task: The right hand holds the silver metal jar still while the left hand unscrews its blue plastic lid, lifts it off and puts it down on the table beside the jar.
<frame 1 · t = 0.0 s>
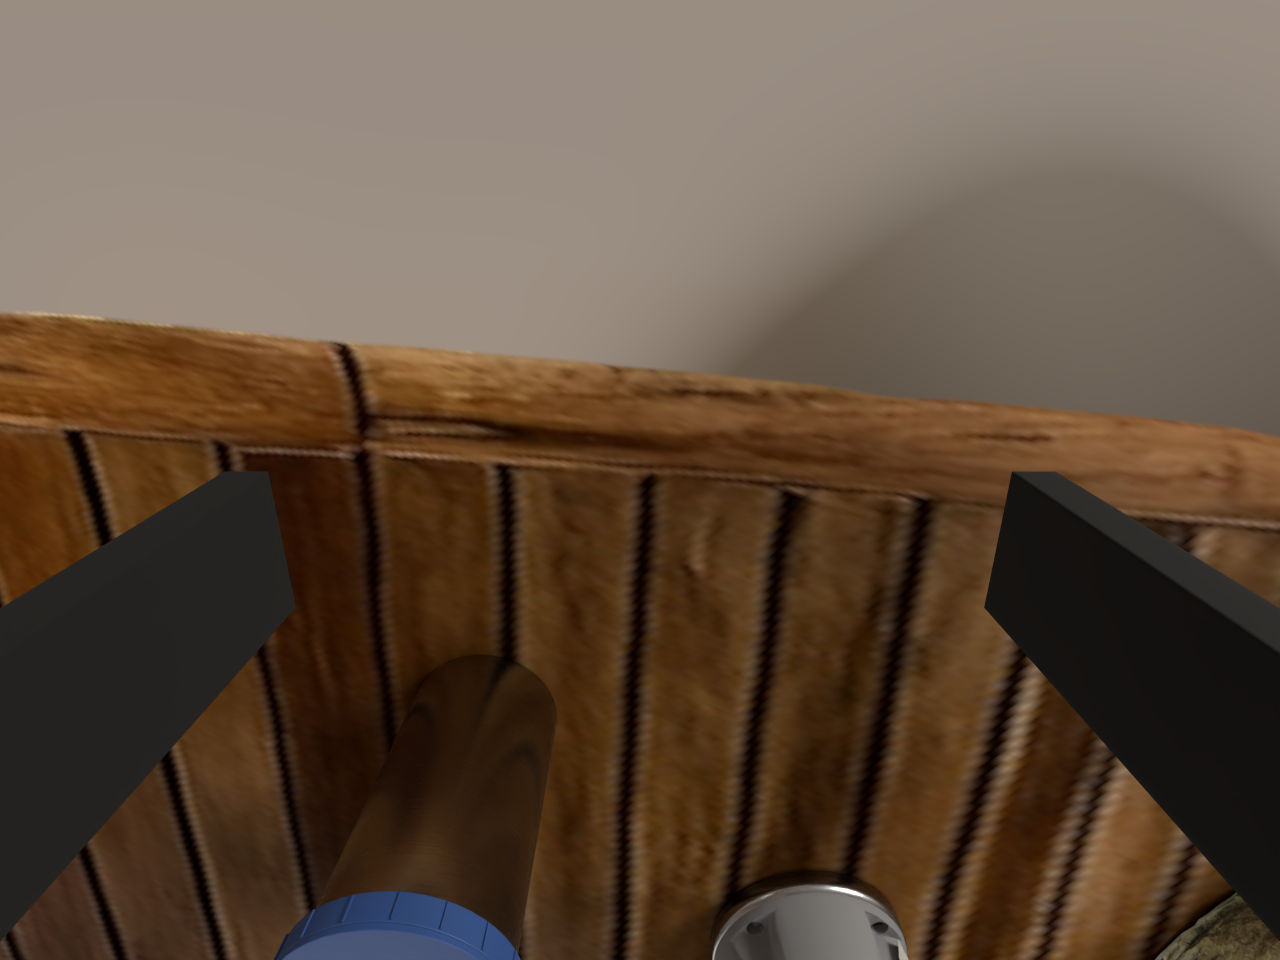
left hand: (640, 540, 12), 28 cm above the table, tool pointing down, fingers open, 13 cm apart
jar: (485, 714, 48), on the table
fossil: (1211, 944, 56), on the table
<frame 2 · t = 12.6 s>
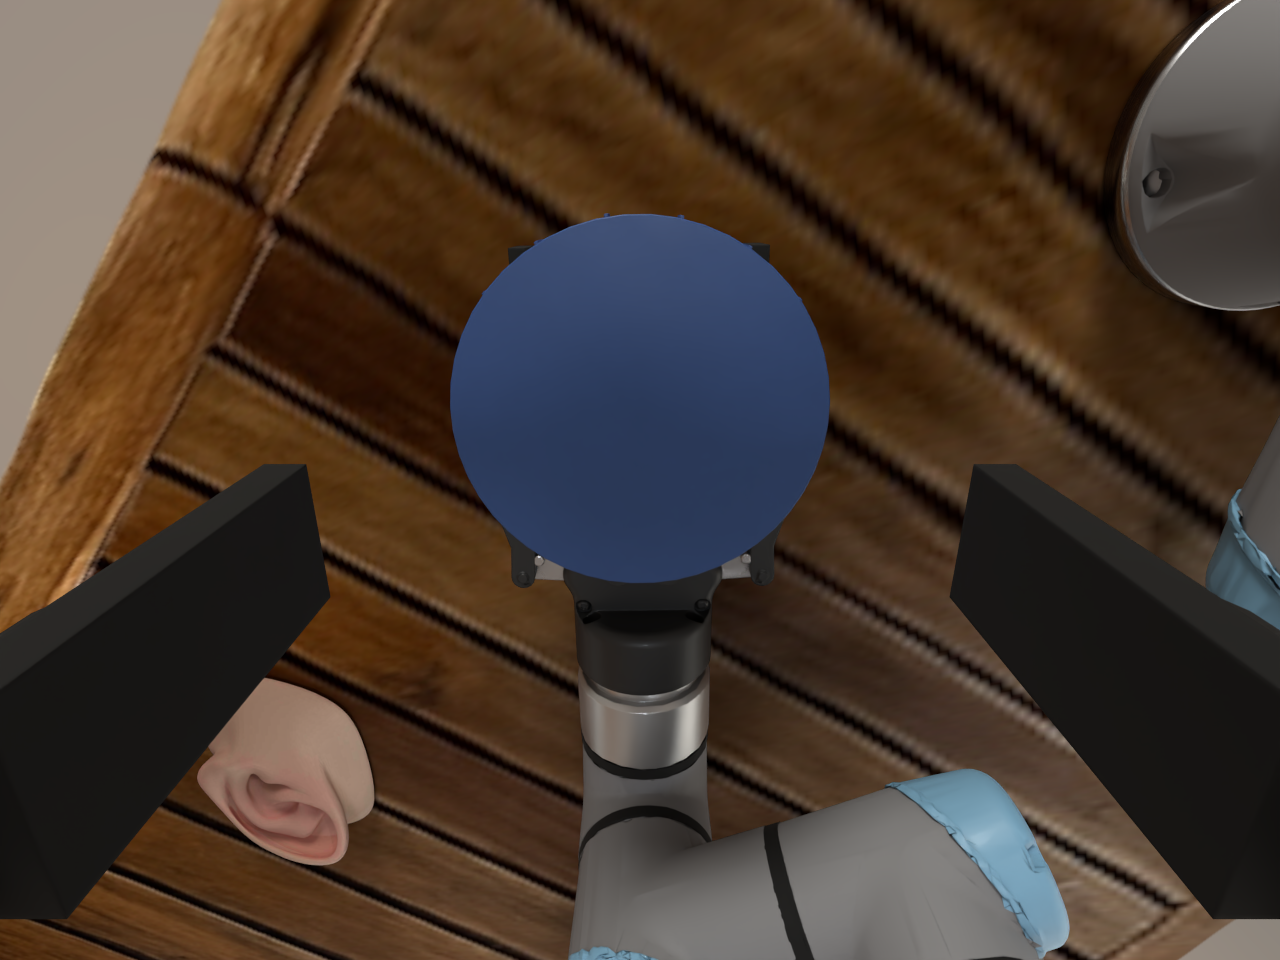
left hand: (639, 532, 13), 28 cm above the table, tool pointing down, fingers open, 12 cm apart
anatomical model: (293, 752, 49), on the table
lid: (640, 413, 21), point 19 cm above the table, screwed on, not yet turned
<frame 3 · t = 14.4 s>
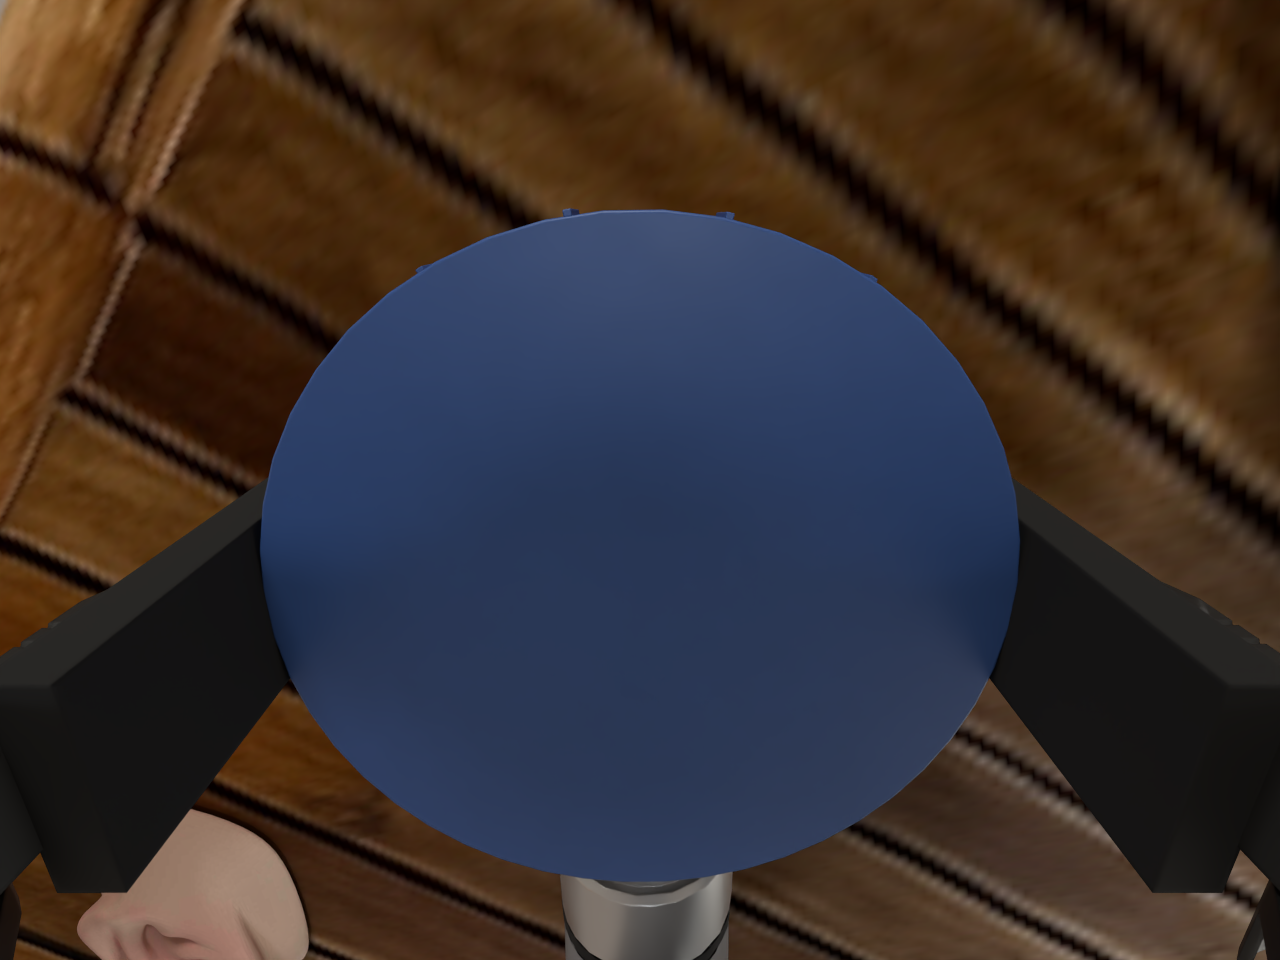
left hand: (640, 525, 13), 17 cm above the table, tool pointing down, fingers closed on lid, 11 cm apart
anatomical model: (205, 887, 39), on the table
lid: (639, 599, 11), point 19 cm above the table, screwed on, not yet turned, touching left hand
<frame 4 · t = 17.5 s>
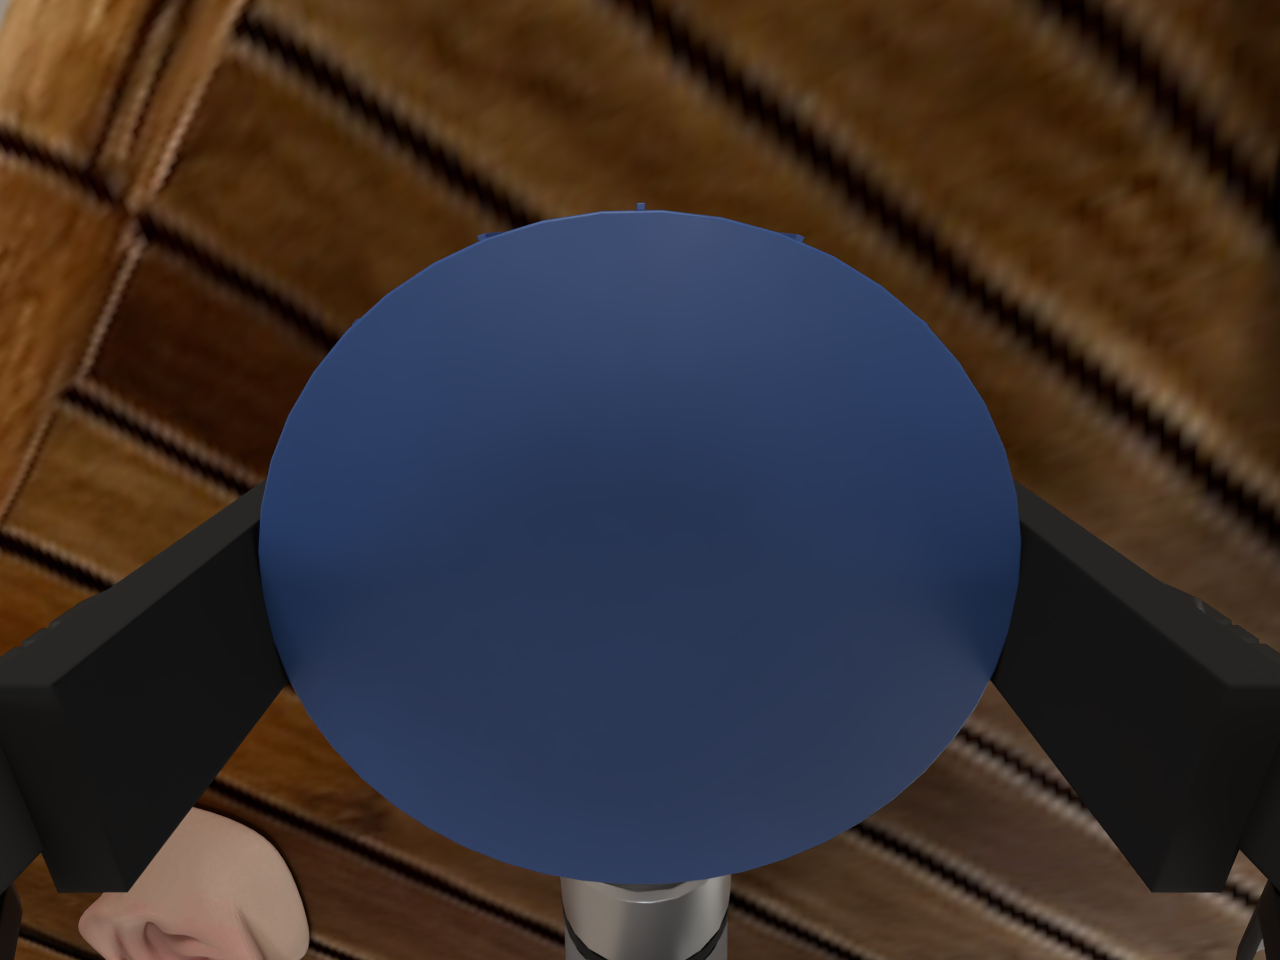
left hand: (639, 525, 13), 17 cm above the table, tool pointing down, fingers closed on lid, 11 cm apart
anatomical model: (206, 885, 39), on the table
lid: (639, 600, 11), point 19 cm above the table, turned 75° so far, risen 0.2 cm, still on its thread, touching left hand
when the left hand's fingers open (0 cm above the table, at t = 24.8 s): lid drops 2 cm, point 1 cm above the table.
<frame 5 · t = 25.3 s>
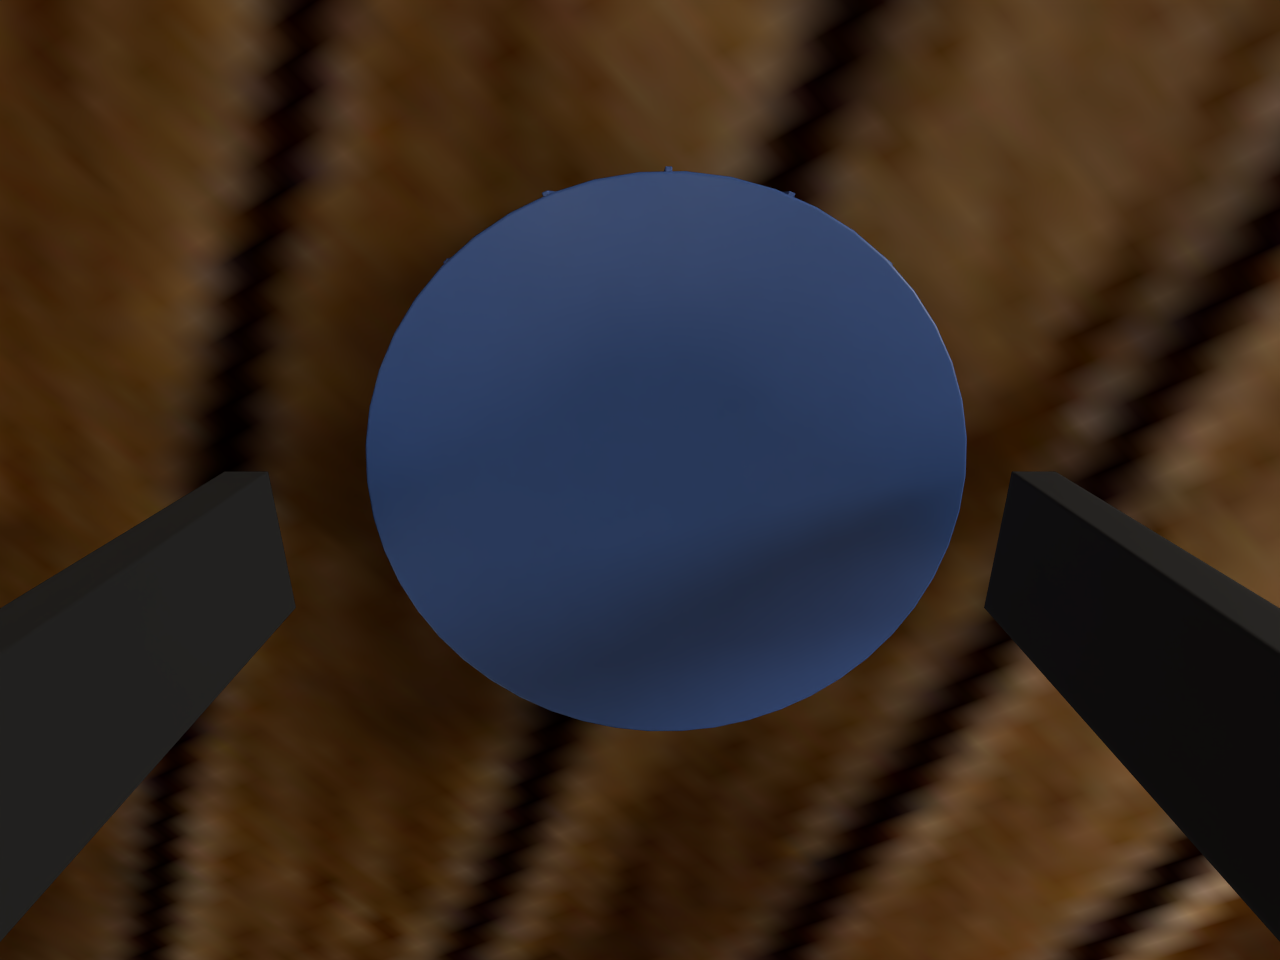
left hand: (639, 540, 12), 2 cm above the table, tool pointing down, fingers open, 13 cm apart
lid: (663, 489, 13), point 1 cm above the table, off its thread
when the right hand's fingers open (6 cm above the table, at t = 25.9 s): jar stays where it is, on the table.
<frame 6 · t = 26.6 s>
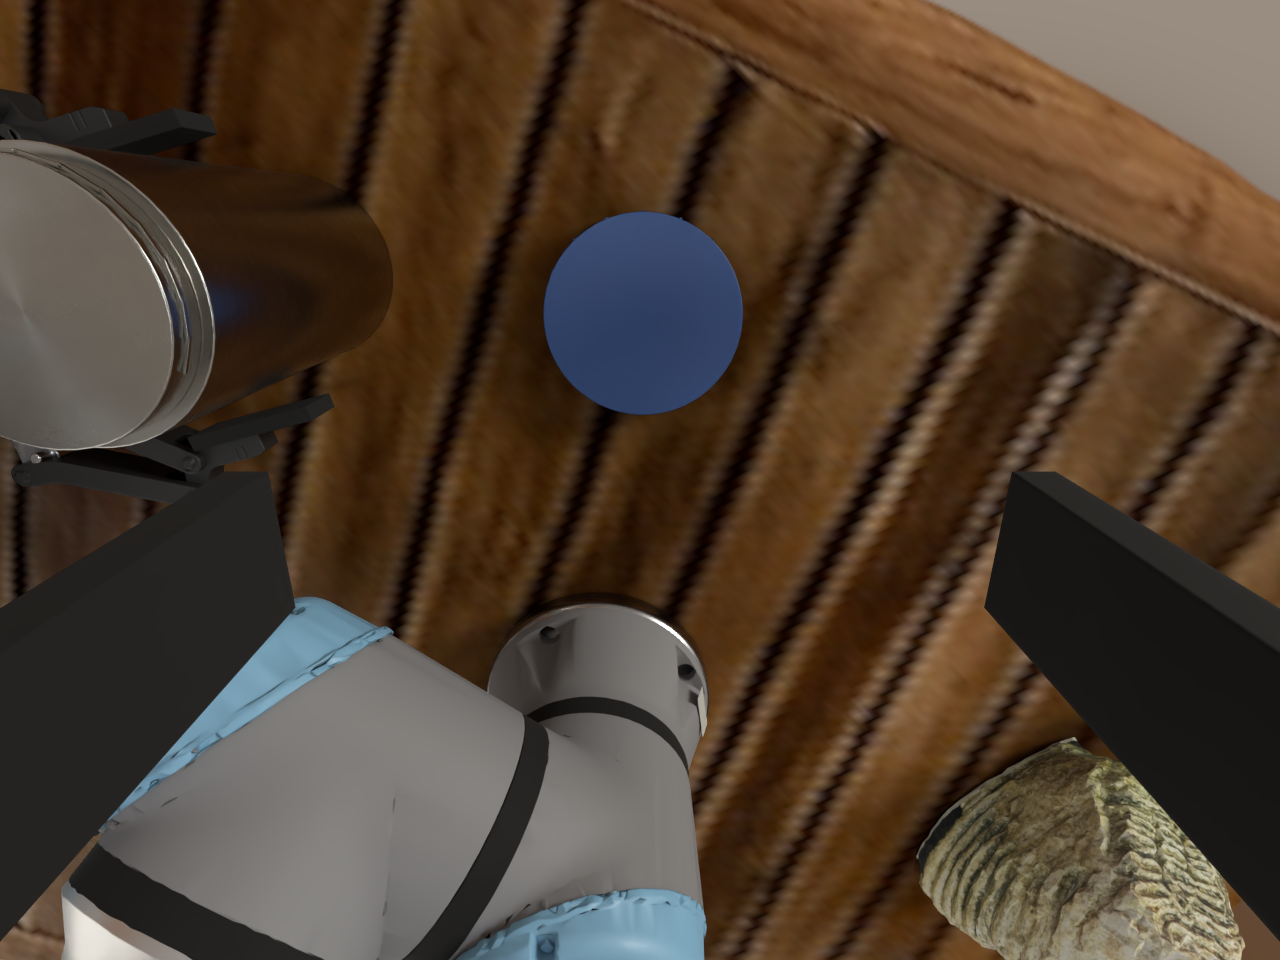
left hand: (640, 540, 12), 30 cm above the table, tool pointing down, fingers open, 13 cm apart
jar: (305, 268, 39), on the table
lid: (643, 317, 39), point 1 cm above the table, off its thread
fossil: (1010, 802, 53), on the table
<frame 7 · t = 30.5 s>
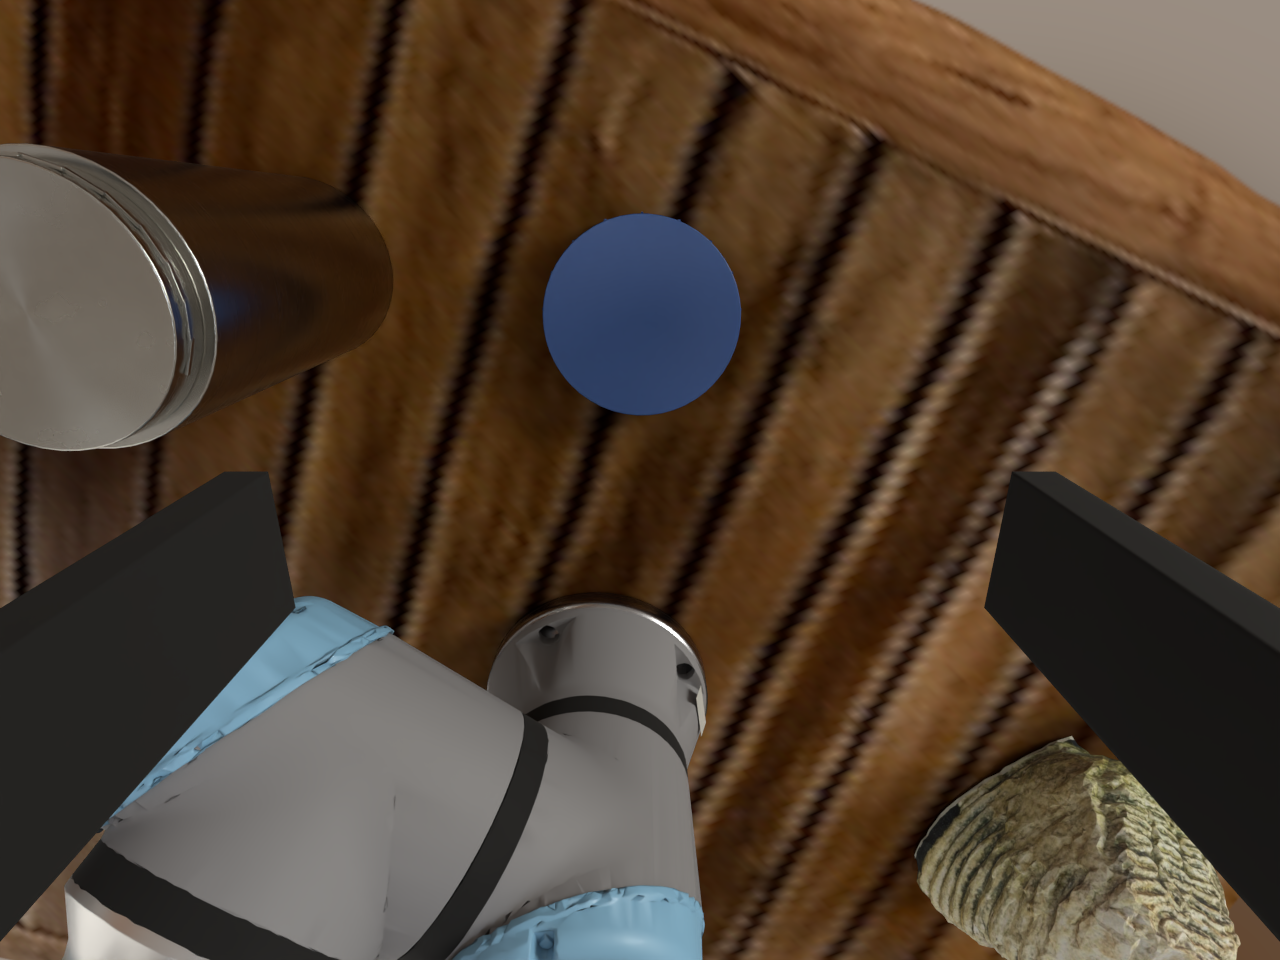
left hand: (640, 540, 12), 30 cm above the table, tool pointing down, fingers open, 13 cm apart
jar: (306, 270, 39), on the table
lid: (641, 318, 39), point 1 cm above the table, off its thread
fossil: (1008, 801, 53), on the table
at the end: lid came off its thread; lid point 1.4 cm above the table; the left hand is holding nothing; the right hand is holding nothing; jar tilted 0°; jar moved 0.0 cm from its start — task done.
